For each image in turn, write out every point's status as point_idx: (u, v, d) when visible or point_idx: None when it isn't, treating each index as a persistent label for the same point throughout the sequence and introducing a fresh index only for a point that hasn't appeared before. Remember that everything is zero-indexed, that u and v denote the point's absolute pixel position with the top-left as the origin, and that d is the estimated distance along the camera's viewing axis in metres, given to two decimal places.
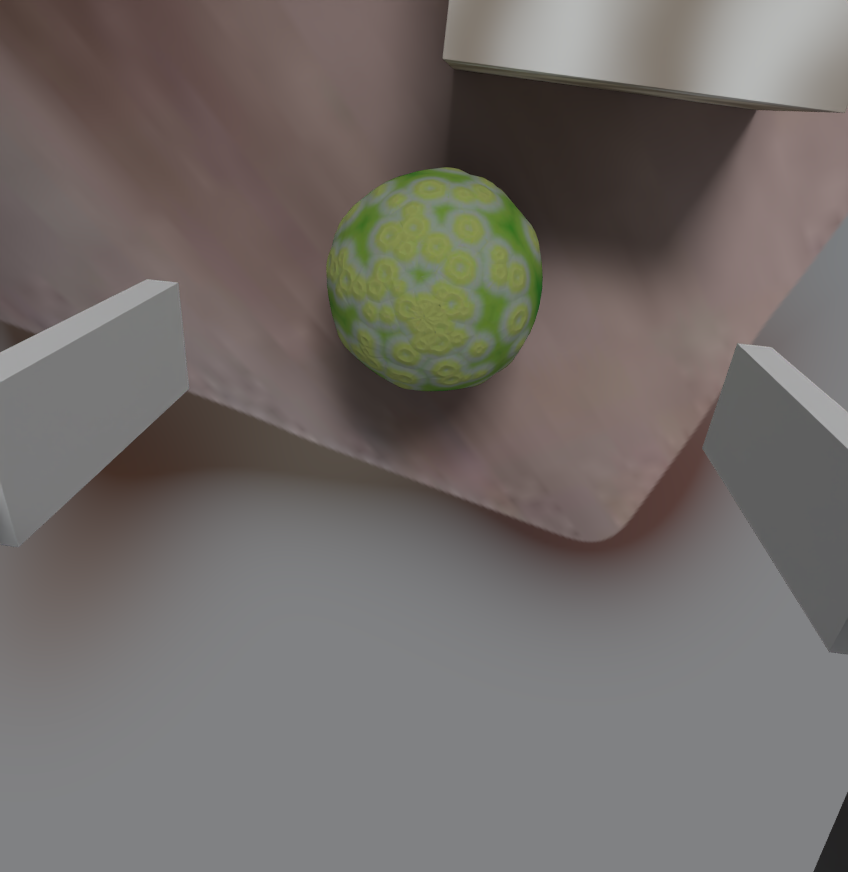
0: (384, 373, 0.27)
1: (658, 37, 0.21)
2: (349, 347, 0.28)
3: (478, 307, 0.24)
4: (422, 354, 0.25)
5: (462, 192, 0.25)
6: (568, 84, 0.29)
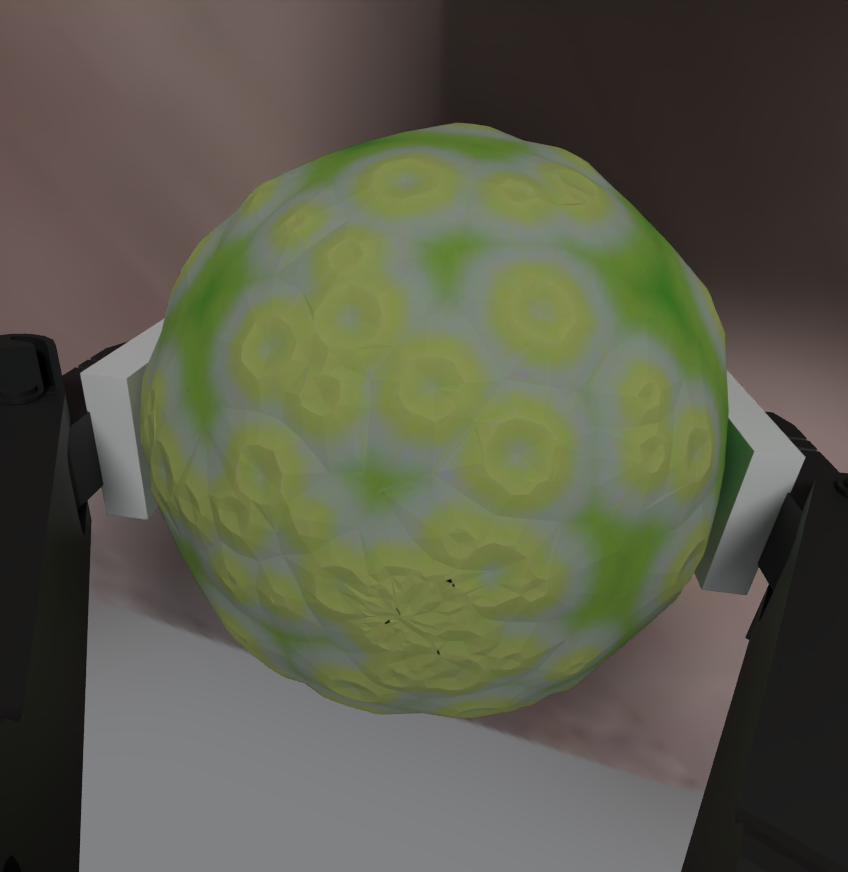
0: None
1: None
2: None
3: (582, 570, 0.07)
4: (402, 692, 0.08)
5: (510, 188, 0.08)
6: None
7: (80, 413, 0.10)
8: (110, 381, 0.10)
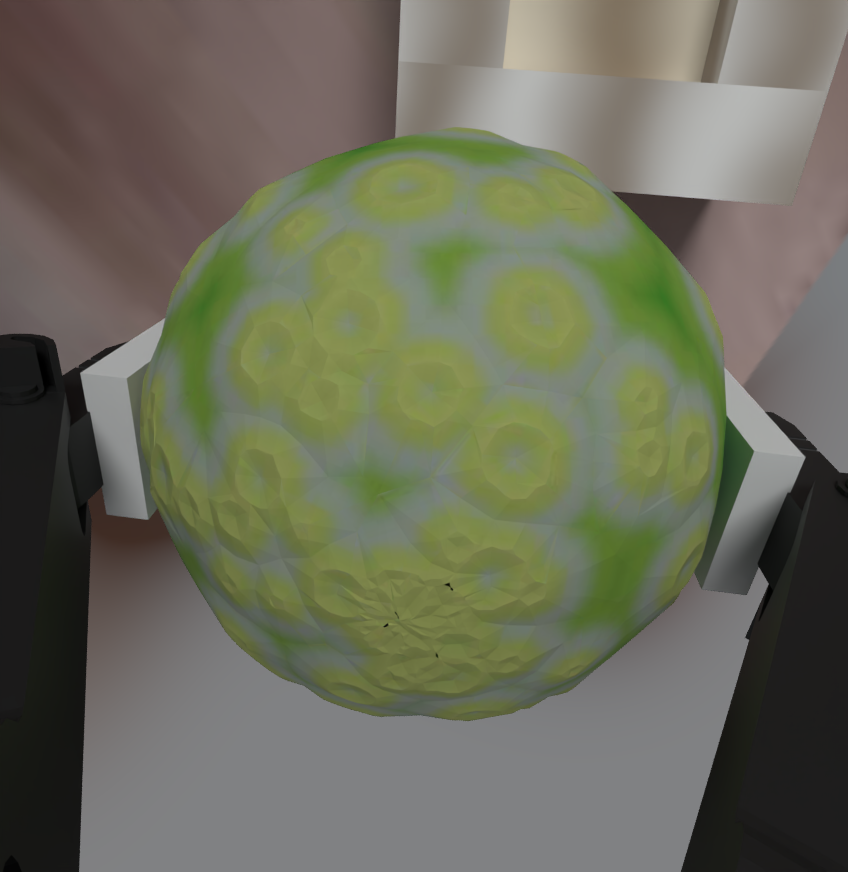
0: None
1: (601, 145, 0.22)
2: None
3: (580, 574, 0.07)
4: (400, 695, 0.08)
5: (509, 193, 0.08)
6: None
7: (80, 413, 0.10)
8: (111, 381, 0.10)
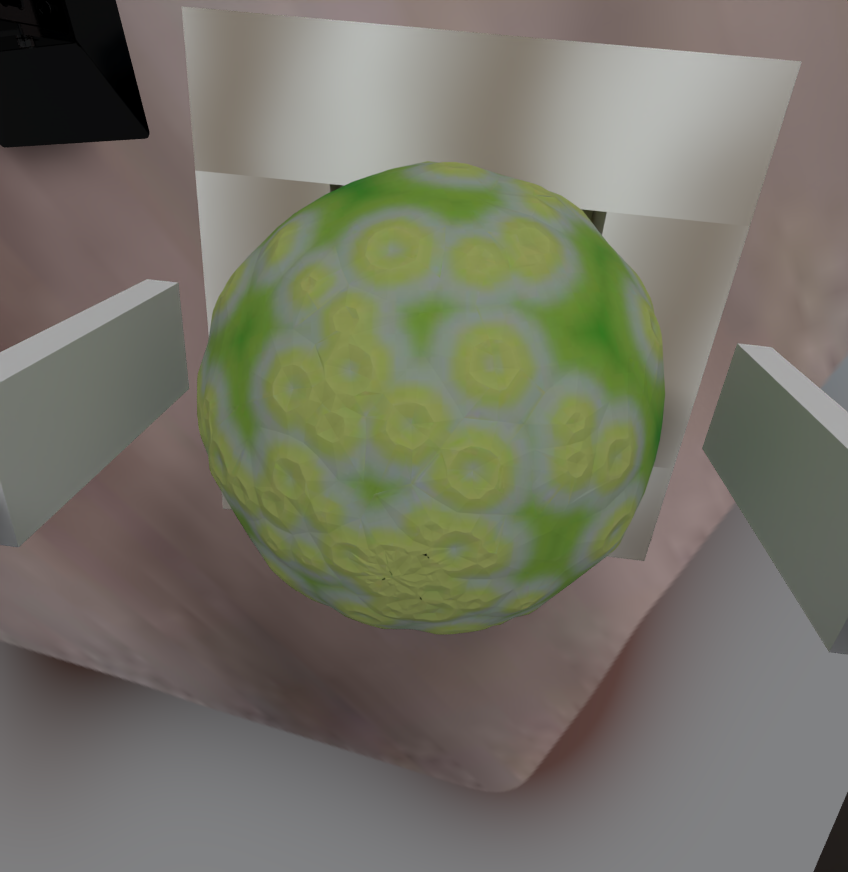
0: None
1: None
2: None
3: (523, 545, 0.10)
4: (398, 619, 0.11)
5: (475, 256, 0.10)
6: None
7: None
8: None
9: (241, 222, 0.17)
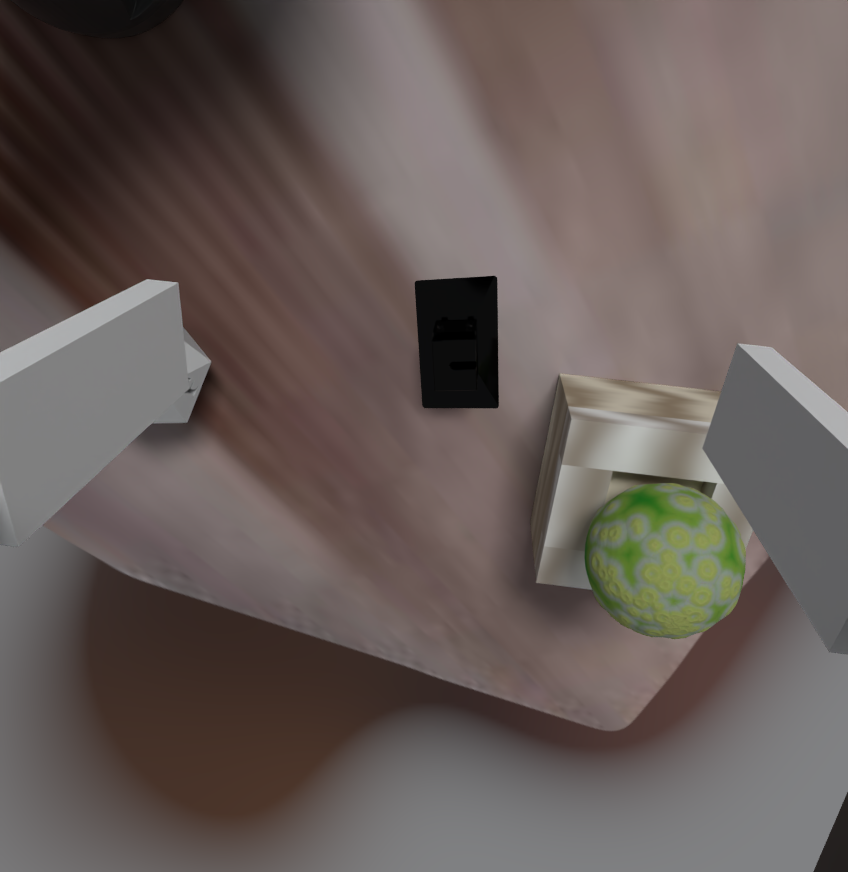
0: None
1: None
2: (605, 609, 0.41)
3: (710, 614, 0.37)
4: (666, 634, 0.38)
5: (700, 539, 0.36)
6: None
7: None
8: None
9: (575, 481, 0.43)
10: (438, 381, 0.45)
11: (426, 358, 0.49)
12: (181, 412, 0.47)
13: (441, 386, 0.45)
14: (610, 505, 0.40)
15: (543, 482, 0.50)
